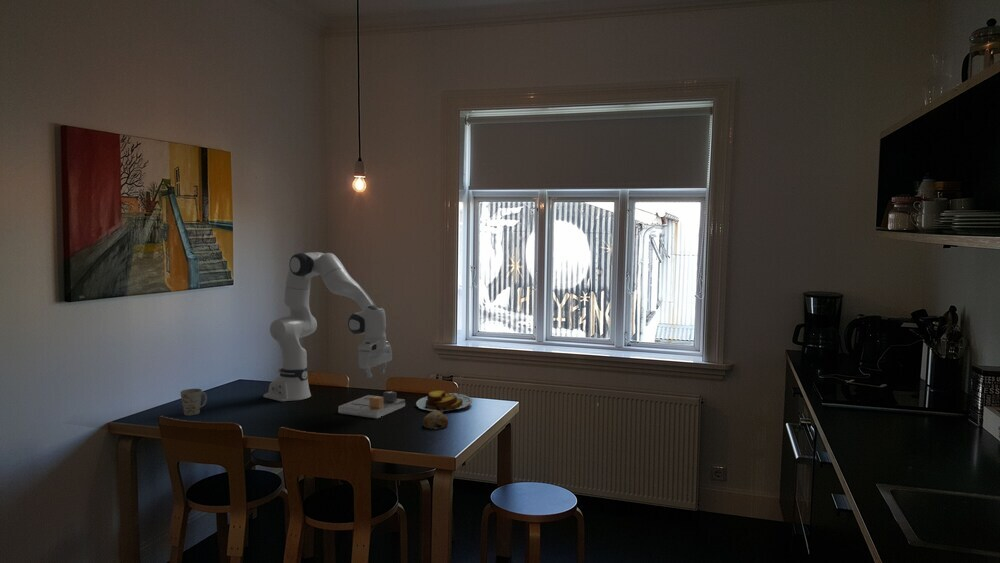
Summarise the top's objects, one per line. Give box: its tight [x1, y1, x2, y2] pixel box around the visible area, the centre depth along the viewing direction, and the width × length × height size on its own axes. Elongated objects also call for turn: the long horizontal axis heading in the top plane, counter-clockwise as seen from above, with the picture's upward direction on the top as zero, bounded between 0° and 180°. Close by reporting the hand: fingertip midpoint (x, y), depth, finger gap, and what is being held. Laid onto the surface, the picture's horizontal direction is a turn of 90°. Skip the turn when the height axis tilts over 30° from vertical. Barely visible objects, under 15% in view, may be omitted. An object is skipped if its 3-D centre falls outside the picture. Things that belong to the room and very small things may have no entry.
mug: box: [180, 388, 208, 416], centre depth 288 cm, size 8×13×10 cm, turn 160°
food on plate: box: [415, 390, 473, 412], centre depth 300 cm, size 25×25×7 cm
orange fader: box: [369, 395, 383, 408], centre depth 287 cm, size 5×3×4 cm, turn 66°
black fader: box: [382, 390, 398, 403], centre depth 295 cm, size 5×3×4 cm, turn 66°
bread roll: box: [422, 410, 449, 430], centre depth 269 cm, size 10×10×8 cm
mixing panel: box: [337, 394, 406, 419], centre depth 294 cm, size 20×22×3 cm
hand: (376, 375), depth 286 cm, fingers open, 8 cm apart
